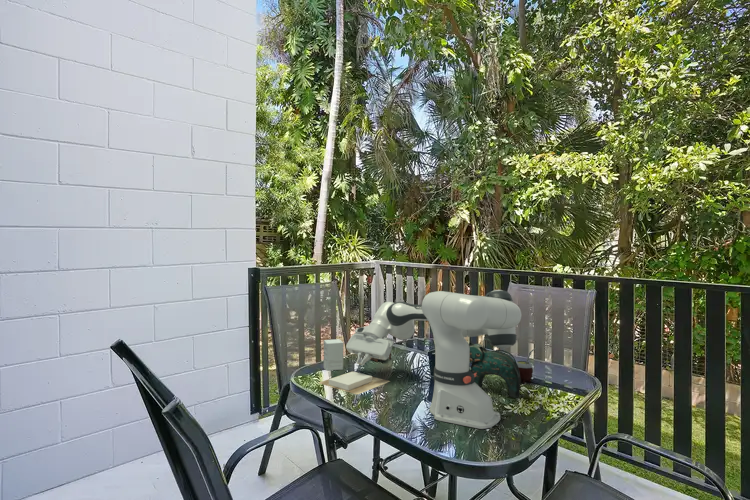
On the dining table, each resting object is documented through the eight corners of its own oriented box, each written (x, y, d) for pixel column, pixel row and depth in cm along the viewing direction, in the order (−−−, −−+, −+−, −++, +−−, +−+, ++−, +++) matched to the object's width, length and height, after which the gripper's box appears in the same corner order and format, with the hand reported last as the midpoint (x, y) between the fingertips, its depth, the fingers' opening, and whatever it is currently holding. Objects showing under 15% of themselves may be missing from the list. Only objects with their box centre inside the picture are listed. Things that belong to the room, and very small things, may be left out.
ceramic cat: (465, 388, 163) (464, 337, 161) (472, 382, 168) (471, 333, 167) (517, 400, 151) (516, 345, 149) (523, 394, 156) (522, 340, 155)
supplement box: (339, 367, 189) (339, 338, 189) (343, 371, 182) (343, 342, 182) (323, 368, 187) (323, 339, 187) (326, 373, 180) (327, 343, 180)
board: (390, 383, 167) (390, 381, 167) (357, 397, 151) (357, 394, 151) (352, 373, 179) (352, 371, 179) (317, 385, 163) (317, 382, 163)
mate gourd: (513, 378, 176) (513, 342, 176) (533, 380, 174) (533, 343, 174) (515, 384, 169) (515, 346, 169) (536, 386, 167) (536, 348, 167)
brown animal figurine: (366, 359, 205) (373, 343, 208) (383, 367, 207) (390, 351, 210) (373, 358, 194) (380, 342, 197) (391, 367, 196) (398, 350, 198)
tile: (372, 376, 166) (348, 385, 155) (372, 381, 166) (348, 390, 155) (352, 371, 172) (328, 379, 161) (352, 376, 172) (328, 385, 161)
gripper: (398, 343, 171) (384, 373, 163) (360, 336, 183) (344, 363, 176) (392, 334, 167) (377, 364, 160) (353, 327, 180) (337, 355, 172)
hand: (359, 364), depth 168 cm, fingers closed
